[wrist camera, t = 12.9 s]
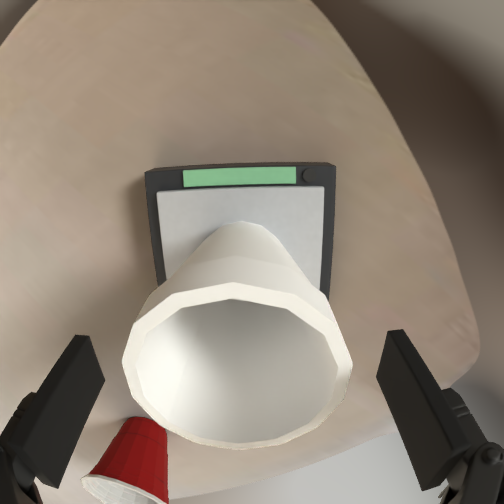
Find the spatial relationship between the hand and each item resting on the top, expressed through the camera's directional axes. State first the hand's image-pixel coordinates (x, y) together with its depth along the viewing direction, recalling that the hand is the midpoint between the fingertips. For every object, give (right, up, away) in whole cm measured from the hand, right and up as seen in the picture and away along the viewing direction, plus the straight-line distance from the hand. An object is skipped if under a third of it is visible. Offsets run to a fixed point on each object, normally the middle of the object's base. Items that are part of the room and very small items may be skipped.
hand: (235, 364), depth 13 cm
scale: (0, +5, +14) cm, 15 cm away
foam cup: (0, +4, +11) cm, 12 cm away
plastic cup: (-13, -19, +23) cm, 33 cm away
